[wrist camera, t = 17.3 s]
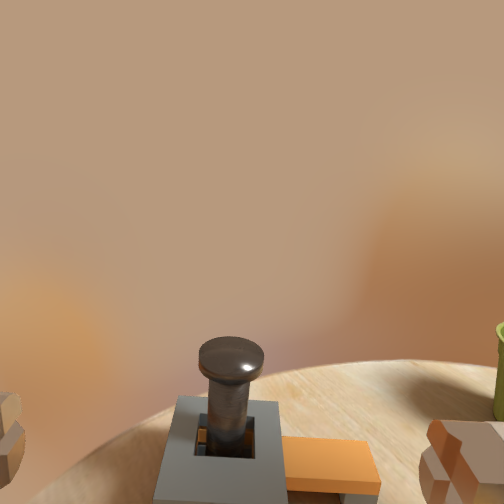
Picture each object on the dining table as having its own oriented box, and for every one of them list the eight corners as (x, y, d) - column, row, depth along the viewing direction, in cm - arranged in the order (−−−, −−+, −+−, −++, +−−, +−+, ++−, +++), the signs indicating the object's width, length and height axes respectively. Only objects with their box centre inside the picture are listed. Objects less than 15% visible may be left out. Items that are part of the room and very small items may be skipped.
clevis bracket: (355, 448, 47) (363, 406, 45) (390, 563, 35) (403, 512, 33) (177, 438, 46) (178, 395, 44) (152, 551, 34) (152, 499, 32)
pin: (250, 460, 44) (263, 338, 39) (251, 508, 39) (265, 374, 34) (196, 456, 44) (202, 334, 39) (189, 504, 38) (195, 369, 34)
